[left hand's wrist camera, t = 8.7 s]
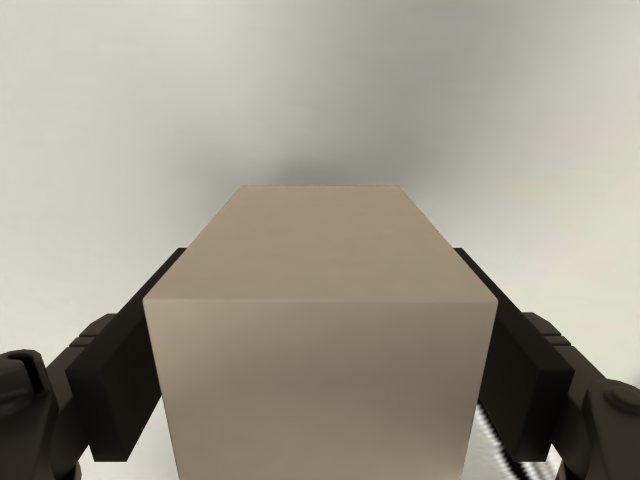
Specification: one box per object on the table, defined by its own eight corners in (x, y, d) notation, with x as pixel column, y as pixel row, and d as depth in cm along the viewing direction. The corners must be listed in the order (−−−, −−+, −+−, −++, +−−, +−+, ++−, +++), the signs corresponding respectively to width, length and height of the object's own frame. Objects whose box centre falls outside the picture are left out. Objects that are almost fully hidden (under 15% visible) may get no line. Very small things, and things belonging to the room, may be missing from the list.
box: (241, 185, 14) (140, 299, 6) (399, 185, 14) (500, 299, 6) (268, 521, 22) (238, 766, 14) (371, 521, 22) (400, 766, 14)
